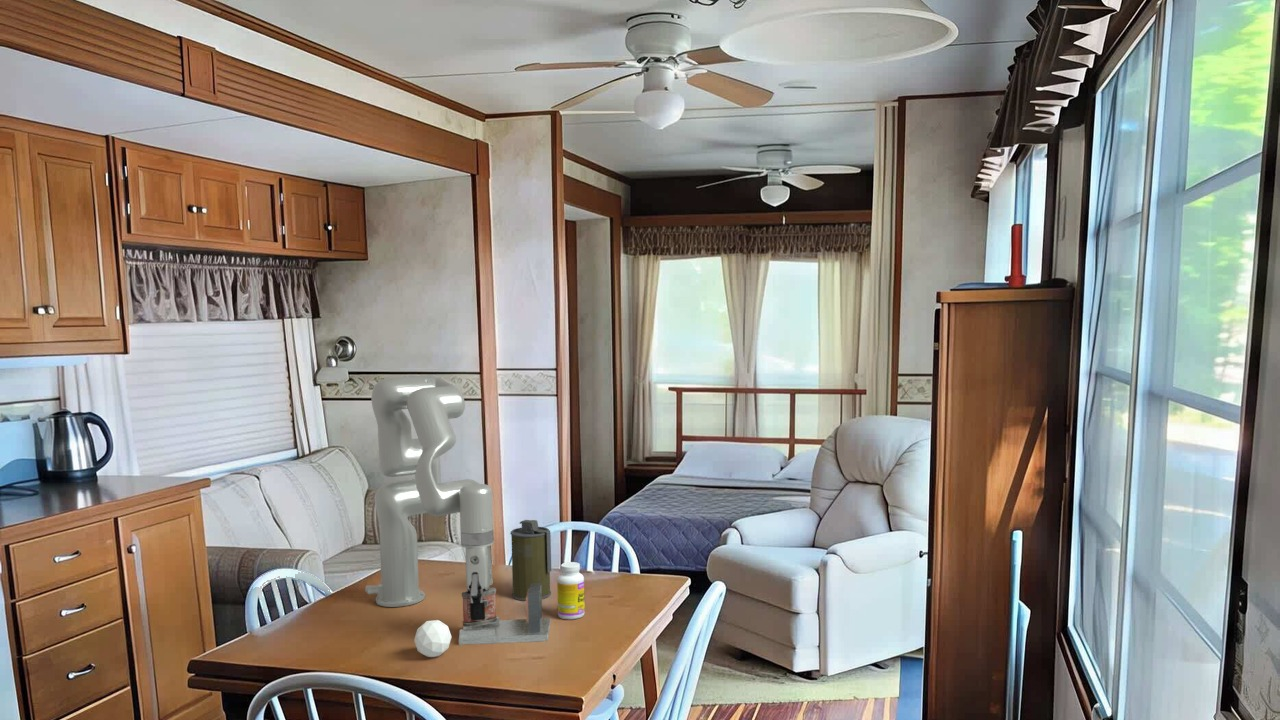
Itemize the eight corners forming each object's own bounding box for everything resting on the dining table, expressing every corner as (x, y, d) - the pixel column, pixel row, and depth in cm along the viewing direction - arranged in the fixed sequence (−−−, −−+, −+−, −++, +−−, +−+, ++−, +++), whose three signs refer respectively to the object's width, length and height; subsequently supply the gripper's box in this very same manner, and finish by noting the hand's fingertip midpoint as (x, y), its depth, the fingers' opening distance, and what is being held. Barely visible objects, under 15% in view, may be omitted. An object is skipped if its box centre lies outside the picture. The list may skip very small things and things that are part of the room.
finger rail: (458, 644, 188) (457, 598, 188) (466, 627, 199) (465, 584, 199) (547, 641, 189) (546, 595, 189) (550, 624, 200) (548, 581, 200)
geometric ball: (429, 664, 184) (429, 629, 189) (458, 655, 182) (458, 619, 186) (406, 658, 178) (407, 621, 183) (436, 648, 176) (436, 611, 180)
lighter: (464, 628, 190) (463, 584, 190) (461, 623, 193) (459, 581, 193) (498, 621, 194) (497, 579, 194) (494, 617, 197) (493, 575, 197)
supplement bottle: (580, 621, 202) (579, 568, 202) (554, 619, 203) (553, 567, 203) (588, 612, 209) (586, 561, 208) (562, 610, 210) (561, 560, 210)
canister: (504, 598, 221) (502, 524, 220) (524, 587, 230) (522, 515, 230) (540, 603, 216) (538, 526, 216) (559, 591, 226) (557, 518, 225)
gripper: (488, 546, 185) (491, 627, 186) (497, 529, 202) (499, 603, 202) (454, 547, 185) (457, 629, 185) (466, 530, 201) (468, 605, 202)
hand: (479, 615), depth 194 cm, fingers closed on lighter, 4 cm apart
